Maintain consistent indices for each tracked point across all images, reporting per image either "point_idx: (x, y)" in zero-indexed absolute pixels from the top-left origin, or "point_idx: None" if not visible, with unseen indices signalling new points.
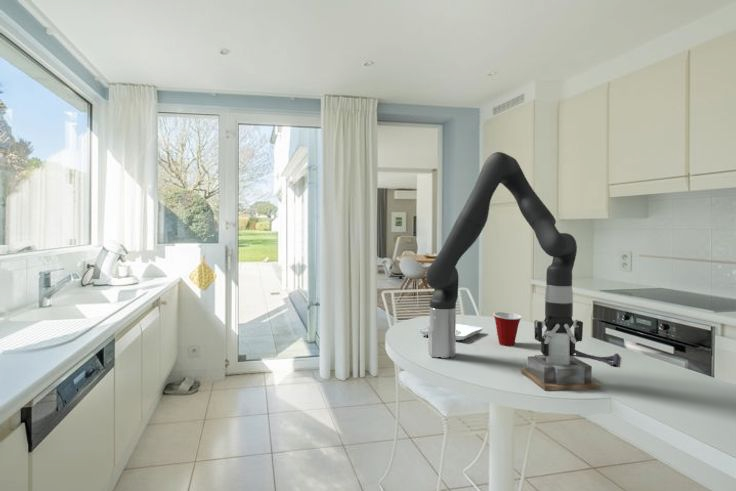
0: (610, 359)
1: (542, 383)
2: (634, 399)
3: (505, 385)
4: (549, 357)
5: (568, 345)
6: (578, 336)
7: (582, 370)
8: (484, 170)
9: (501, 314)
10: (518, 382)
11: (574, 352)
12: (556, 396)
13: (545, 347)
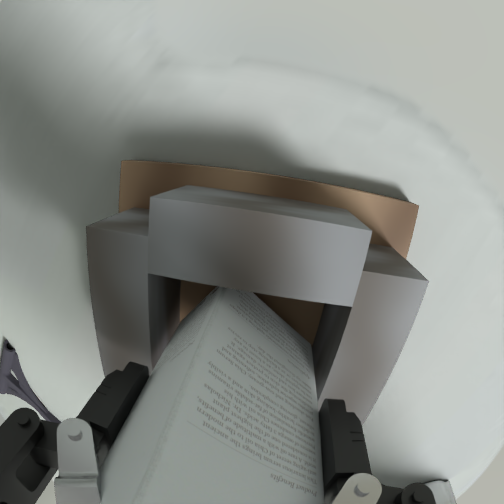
0: (11, 379)
1: (404, 243)
2: (92, 45)
3: (491, 295)
4: (305, 395)
5: (153, 416)
6: (22, 445)
7: (170, 197)
8: None
9: None
10: (436, 318)
11: (111, 375)
12: (405, 121)
13: (349, 453)
